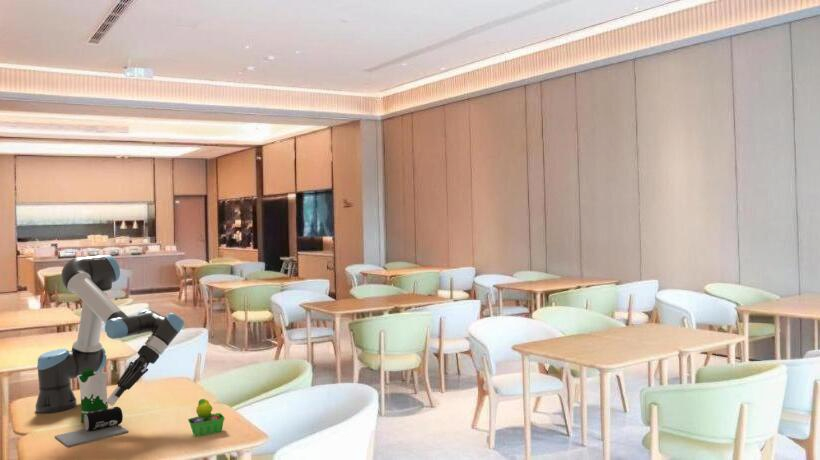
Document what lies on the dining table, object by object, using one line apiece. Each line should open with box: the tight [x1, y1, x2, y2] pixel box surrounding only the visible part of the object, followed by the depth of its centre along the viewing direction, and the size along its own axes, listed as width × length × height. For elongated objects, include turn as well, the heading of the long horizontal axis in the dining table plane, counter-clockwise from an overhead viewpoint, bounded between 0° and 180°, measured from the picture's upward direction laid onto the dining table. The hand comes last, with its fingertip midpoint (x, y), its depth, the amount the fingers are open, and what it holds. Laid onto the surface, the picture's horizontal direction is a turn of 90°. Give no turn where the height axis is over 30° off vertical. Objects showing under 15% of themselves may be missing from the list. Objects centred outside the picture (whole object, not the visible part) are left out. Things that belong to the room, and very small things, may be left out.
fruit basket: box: [187, 398, 226, 437], centre depth 240 cm, size 11×9×11 cm
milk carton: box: [76, 369, 109, 424], centre depth 262 cm, size 9×9×20 cm
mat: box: [54, 424, 129, 448], centre depth 244 cm, size 16×20×1 cm
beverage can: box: [83, 406, 124, 431], centre depth 250 cm, size 7×7×12 cm
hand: (109, 403), depth 248 cm, fingers closed
